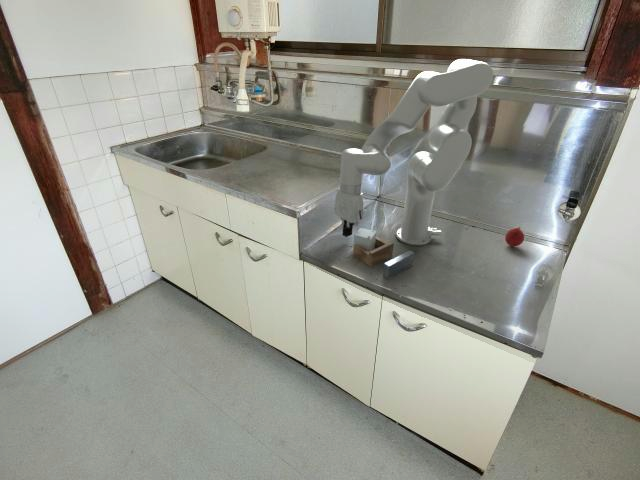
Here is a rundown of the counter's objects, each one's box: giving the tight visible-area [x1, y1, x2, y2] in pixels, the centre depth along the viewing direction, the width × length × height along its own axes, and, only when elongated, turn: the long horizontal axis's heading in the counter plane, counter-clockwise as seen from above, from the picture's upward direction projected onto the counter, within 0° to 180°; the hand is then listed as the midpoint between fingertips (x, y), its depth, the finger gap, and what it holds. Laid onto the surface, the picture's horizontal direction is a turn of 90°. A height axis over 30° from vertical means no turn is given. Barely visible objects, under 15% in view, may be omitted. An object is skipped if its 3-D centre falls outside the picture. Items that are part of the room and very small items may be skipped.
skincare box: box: [352, 227, 377, 253], centre depth 123 cm, size 6×6×7 cm
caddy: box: [352, 236, 394, 267], centre depth 121 cm, size 8×10×5 cm
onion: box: [504, 226, 525, 248], centre depth 126 cm, size 6×6×8 cm
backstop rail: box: [382, 249, 415, 281], centre depth 114 cm, size 2×12×5 cm, turn 129°
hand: (347, 235), depth 129 cm, fingers closed
